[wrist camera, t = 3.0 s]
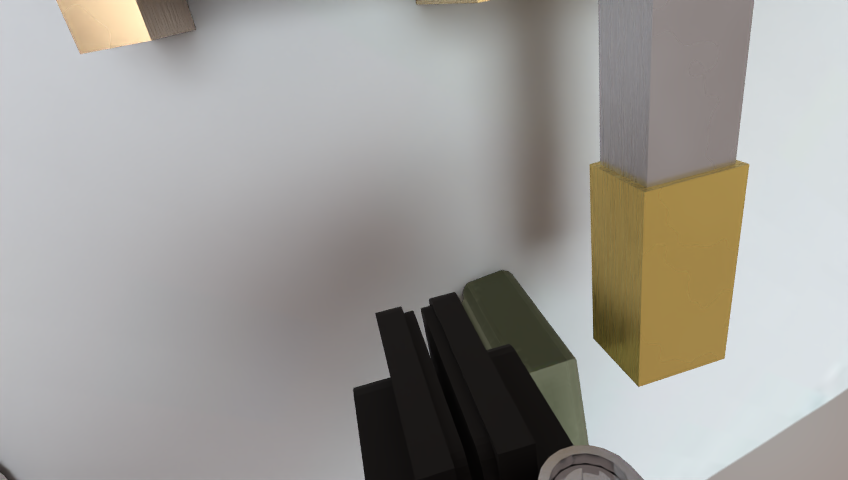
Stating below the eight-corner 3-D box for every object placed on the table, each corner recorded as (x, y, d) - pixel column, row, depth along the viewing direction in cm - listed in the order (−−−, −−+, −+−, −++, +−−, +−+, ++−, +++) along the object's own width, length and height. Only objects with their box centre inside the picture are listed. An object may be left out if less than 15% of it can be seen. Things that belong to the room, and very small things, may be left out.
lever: (538, -359, 9) (614, -470, 7) (748, -379, 10) (876, -486, 8) (570, 345, 16) (613, 395, 14) (690, 308, 17) (748, 350, 15)
